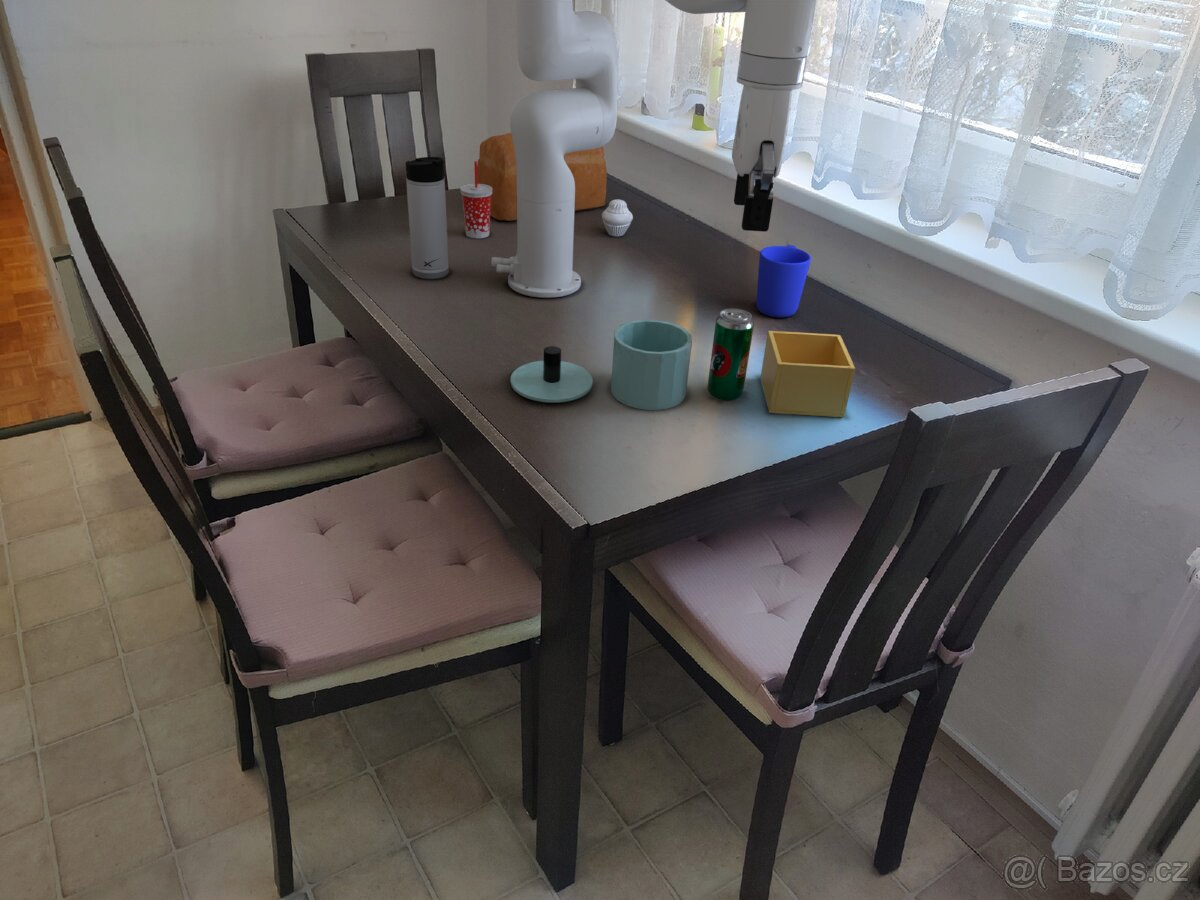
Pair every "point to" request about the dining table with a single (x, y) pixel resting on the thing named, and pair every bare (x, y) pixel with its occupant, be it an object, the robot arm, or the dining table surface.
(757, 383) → the dining table surface
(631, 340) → the pot
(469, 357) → the dining table surface
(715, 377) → the soda can
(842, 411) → the bin
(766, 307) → the mug
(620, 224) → the muffin
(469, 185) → the beverage cup
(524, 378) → the pot lid
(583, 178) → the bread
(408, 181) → the travel mug
